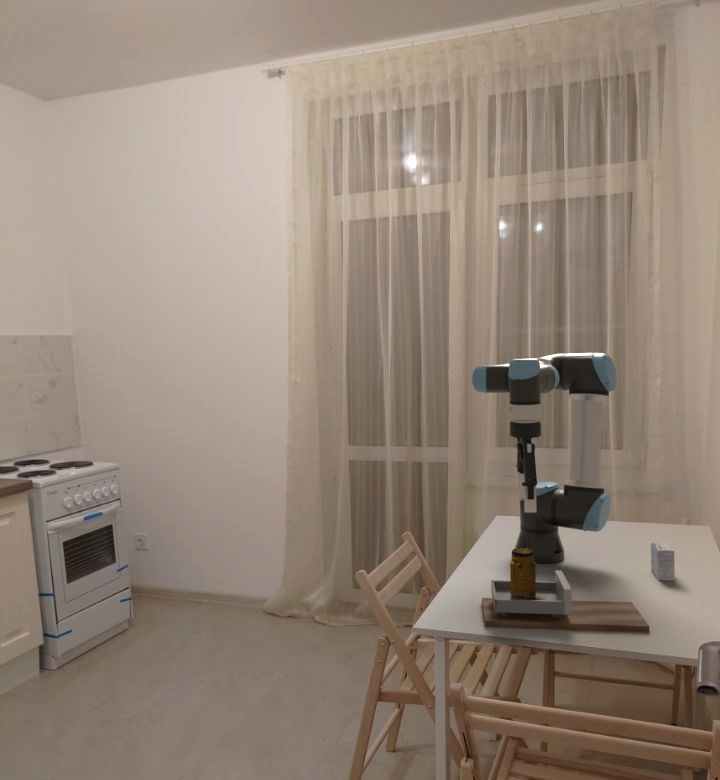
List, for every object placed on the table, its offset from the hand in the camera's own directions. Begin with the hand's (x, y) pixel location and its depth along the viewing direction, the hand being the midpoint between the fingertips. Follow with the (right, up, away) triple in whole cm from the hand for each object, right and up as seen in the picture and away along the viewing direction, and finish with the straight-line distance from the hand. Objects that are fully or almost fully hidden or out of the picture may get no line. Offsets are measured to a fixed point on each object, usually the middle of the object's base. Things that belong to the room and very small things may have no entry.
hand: (526, 504), depth 157 cm
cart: (-1, -25, -3) cm, 25 cm away
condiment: (-1, -23, -3) cm, 23 cm away
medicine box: (+45, -25, +22) cm, 56 cm away
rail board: (+7, -27, -4) cm, 28 cm away
